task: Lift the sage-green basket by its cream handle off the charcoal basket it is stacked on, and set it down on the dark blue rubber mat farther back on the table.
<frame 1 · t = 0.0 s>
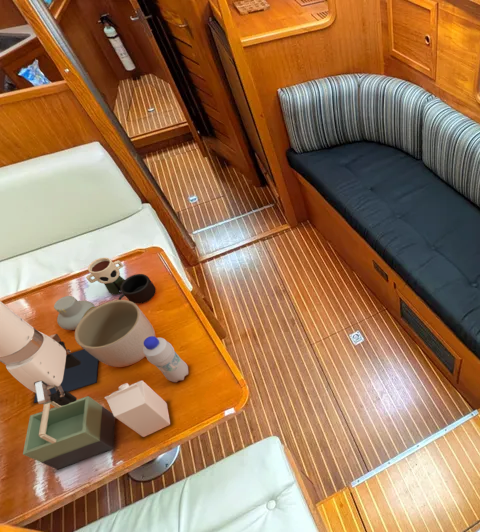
hand: (71, 383, 91), 26 cm above the table, tool pointing down, fingers open, 9 cm apart
character mug: (120, 289, 142), on the table
milk carton: (155, 420, 111), on the table
air freshener: (83, 320, 133), on the table
planter: (134, 349, 126), on the table
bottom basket: (87, 441, 107), on the table, touching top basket
mug: (141, 299, 139), on the table
bottle: (179, 374, 120), on the table
mat: (69, 372, 120), on the table
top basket: (73, 432, 102), point 6 cm above the table, touching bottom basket
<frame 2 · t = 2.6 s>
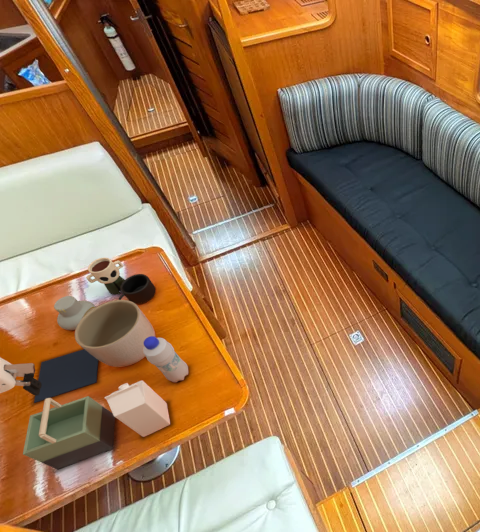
hand: (12, 397, 86), 28 cm above the table, tool pointing down, fingers open, 9 cm apart
nothing on the table moved.
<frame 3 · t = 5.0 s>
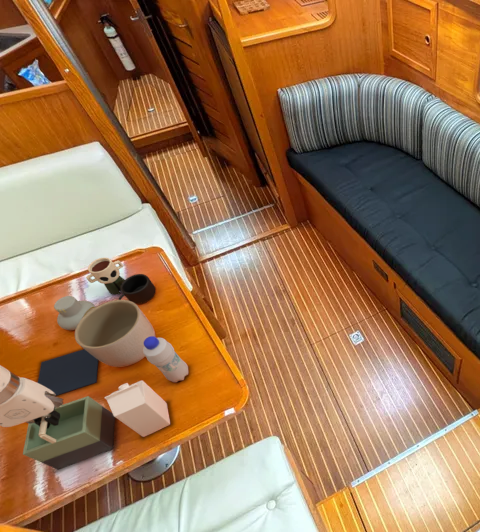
hand: (52, 421, 96), 15 cm above the table, tool pointing down, fingers closed on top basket
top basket: (73, 432, 102), point 7 cm above the table, touching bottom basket, gripper
everything else where it was.
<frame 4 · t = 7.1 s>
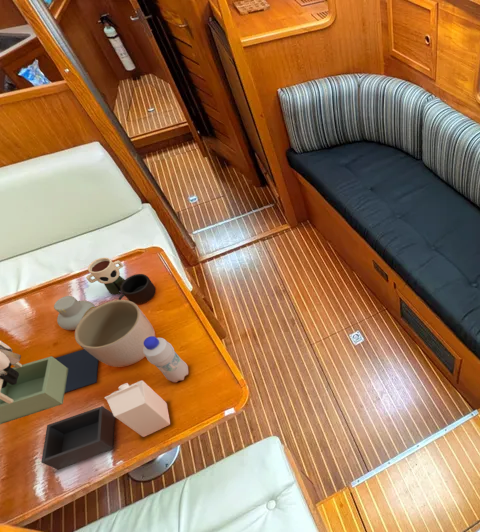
hand: (10, 380, 89), 28 cm above the table, tool pointing down, fingers closed on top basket
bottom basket: (87, 441, 107), on the table
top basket: (35, 395, 95), point 20 cm above the table, touching gripper
everything else where it was.
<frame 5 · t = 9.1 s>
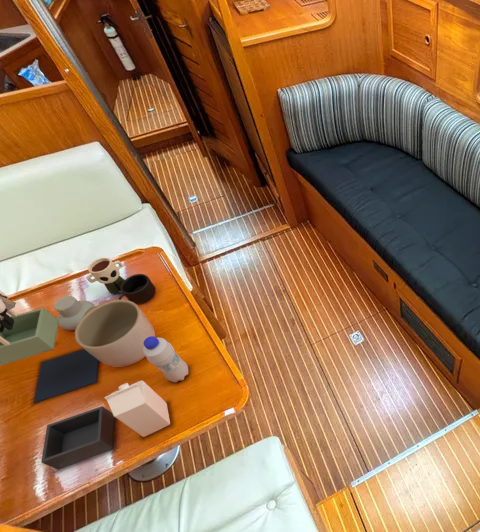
hand: (7, 326, 101), 26 cm above the table, tool pointing down, fingers closed on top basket
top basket: (29, 342, 107), point 18 cm above the table, touching gripper
everything else where it was.
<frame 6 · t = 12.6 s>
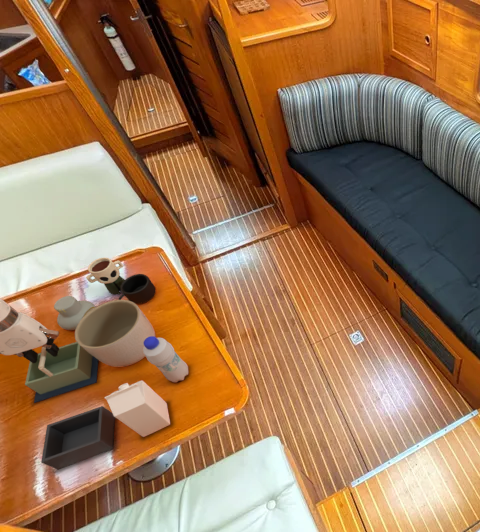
hand: (45, 355, 112), 11 cm above the table, tool pointing down, fingers open, 4 cm apart
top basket: (67, 372, 120), resting on mat
everything else where it was.
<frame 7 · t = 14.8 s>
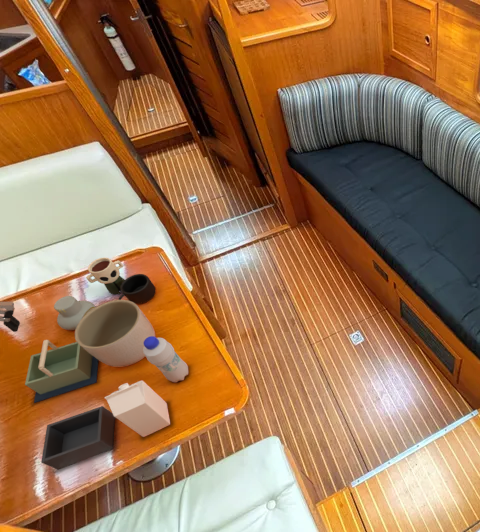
nothing on the table moved.
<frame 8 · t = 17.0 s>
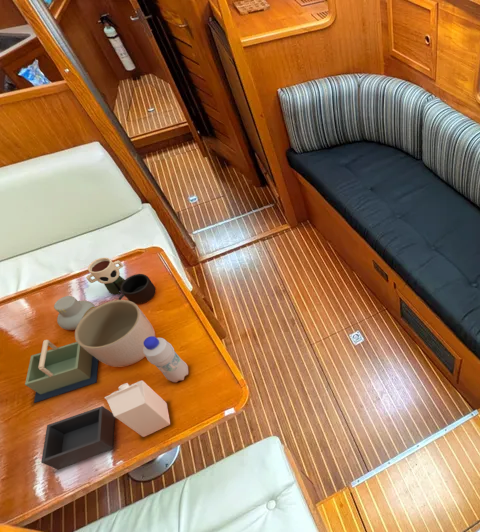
nothing on the table moved.
at the end: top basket inside the target area on the mat (0.1 cm from its centre), point 0.4 cm above the mat's base; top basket tilted 0°; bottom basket moved 0.0 cm from its start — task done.
